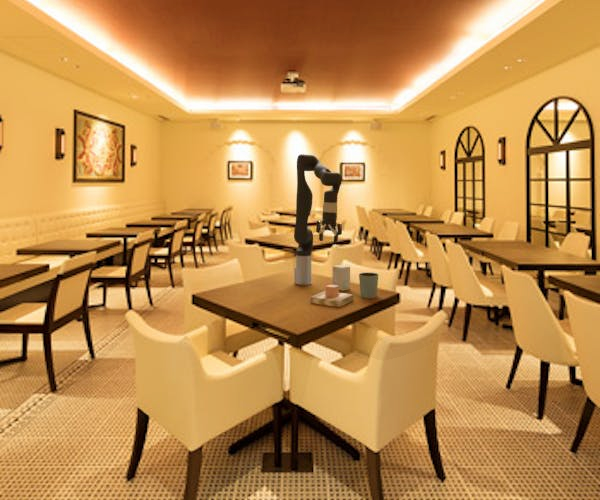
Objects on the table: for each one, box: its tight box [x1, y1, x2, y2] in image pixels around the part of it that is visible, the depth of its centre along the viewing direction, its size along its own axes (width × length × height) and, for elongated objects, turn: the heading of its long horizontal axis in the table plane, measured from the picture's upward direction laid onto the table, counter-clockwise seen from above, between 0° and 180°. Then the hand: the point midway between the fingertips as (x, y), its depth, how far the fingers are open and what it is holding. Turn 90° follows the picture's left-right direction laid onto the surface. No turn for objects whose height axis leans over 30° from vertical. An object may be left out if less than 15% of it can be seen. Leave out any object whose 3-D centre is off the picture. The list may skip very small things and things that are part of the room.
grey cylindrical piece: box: [358, 272, 379, 299], centre depth 246 cm, size 10×10×12 cm
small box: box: [332, 264, 351, 291], centre depth 263 cm, size 8×6×13 cm
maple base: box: [310, 290, 354, 308], centre depth 236 cm, size 16×16×3 cm
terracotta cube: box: [324, 284, 340, 297], centre depth 235 cm, size 5×5×5 cm
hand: (328, 241), depth 245 cm, fingers open, 8 cm apart
